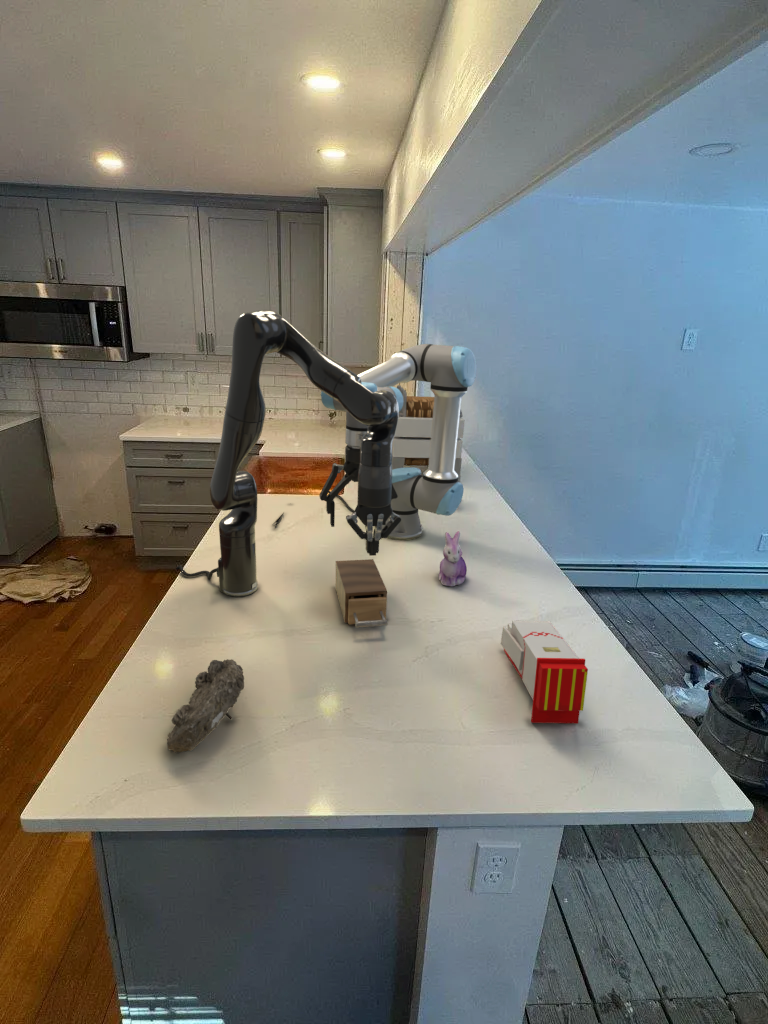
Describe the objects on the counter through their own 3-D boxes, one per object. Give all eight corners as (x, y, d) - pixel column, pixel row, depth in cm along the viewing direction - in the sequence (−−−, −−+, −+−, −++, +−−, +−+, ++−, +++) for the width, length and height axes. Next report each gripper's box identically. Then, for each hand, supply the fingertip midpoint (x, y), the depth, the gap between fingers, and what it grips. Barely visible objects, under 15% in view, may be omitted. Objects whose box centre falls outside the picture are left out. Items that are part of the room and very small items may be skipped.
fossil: (192, 660, 117) (244, 628, 112) (224, 691, 120) (276, 661, 115) (142, 746, 98) (202, 712, 93) (182, 779, 101) (242, 748, 96)
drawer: (390, 633, 137) (391, 610, 134) (352, 636, 135) (352, 613, 133) (372, 589, 158) (373, 568, 156) (339, 590, 156) (339, 569, 154)
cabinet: (385, 619, 144) (387, 590, 142) (344, 622, 142) (345, 593, 139) (372, 585, 162) (373, 559, 159) (335, 587, 160) (335, 560, 157)
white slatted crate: (382, 463, 289) (386, 382, 275) (445, 464, 293) (451, 384, 279) (390, 482, 257) (394, 392, 243) (460, 483, 261) (468, 394, 247)
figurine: (448, 590, 161) (452, 541, 156) (429, 575, 169) (432, 528, 164) (475, 584, 165) (480, 536, 160) (455, 570, 173) (459, 524, 168)
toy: (547, 606, 135) (596, 665, 106) (541, 658, 138) (589, 729, 108) (496, 604, 134) (532, 664, 105) (492, 657, 137) (526, 729, 108)
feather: (291, 507, 225) (293, 503, 224) (273, 530, 198) (276, 526, 198) (287, 504, 224) (289, 500, 224) (269, 528, 198) (272, 523, 197)
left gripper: (347, 488, 121) (346, 562, 126) (408, 487, 123) (403, 559, 129) (342, 478, 128) (341, 549, 133) (400, 477, 130) (396, 546, 136)
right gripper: (311, 449, 137) (311, 531, 144) (411, 448, 142) (407, 527, 149) (309, 442, 144) (309, 520, 151) (404, 441, 149) (400, 517, 156)
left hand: (372, 554), depth 131 cm, fingers closed
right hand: (357, 524), depth 150 cm, fingers open, 13 cm apart
